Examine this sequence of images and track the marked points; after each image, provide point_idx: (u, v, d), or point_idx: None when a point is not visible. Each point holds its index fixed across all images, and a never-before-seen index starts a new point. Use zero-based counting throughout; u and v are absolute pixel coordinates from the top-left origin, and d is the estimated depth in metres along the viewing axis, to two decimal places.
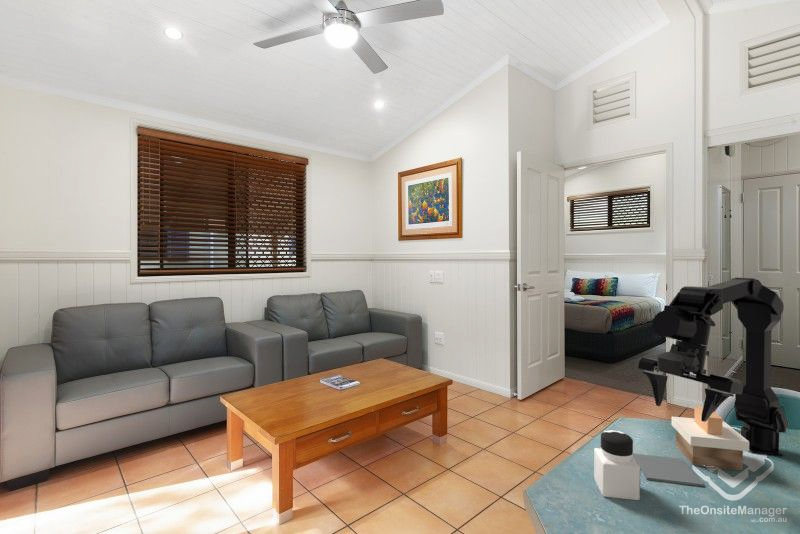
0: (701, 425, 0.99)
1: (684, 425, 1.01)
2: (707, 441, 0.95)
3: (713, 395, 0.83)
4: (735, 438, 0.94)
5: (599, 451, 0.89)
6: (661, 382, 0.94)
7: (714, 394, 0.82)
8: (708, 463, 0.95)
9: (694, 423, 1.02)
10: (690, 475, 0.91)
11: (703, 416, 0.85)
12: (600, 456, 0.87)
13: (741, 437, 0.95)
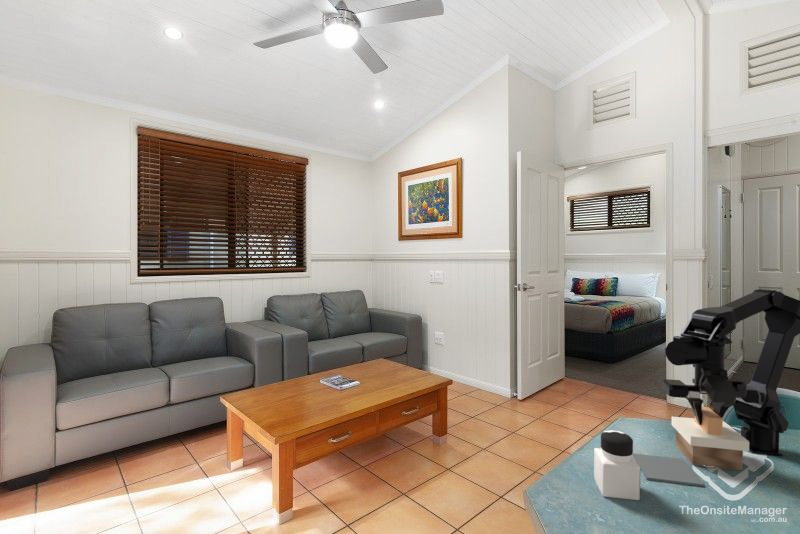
0: (701, 425, 0.99)
1: (684, 425, 1.01)
2: (707, 441, 0.95)
3: (730, 405, 0.96)
4: (735, 438, 0.94)
5: (599, 451, 0.89)
6: None
7: (732, 405, 0.96)
8: (708, 463, 0.95)
9: (694, 423, 1.02)
10: (690, 475, 0.91)
11: None
12: (600, 456, 0.87)
13: (741, 437, 0.95)
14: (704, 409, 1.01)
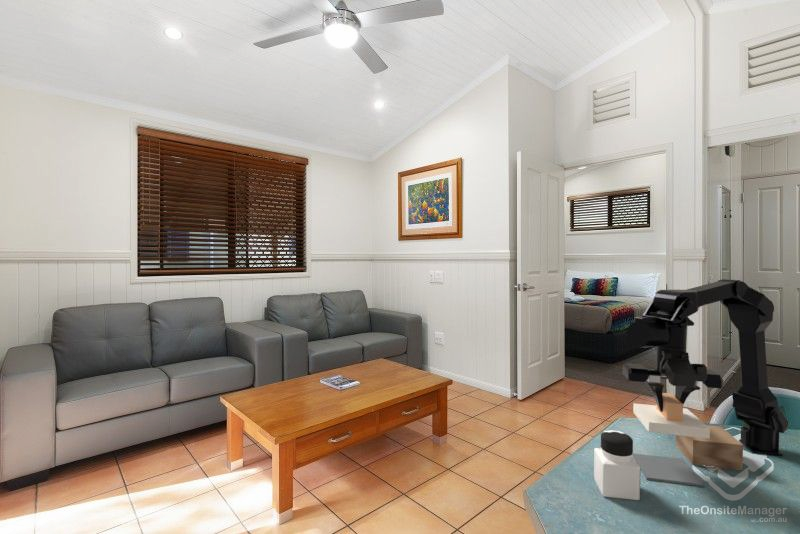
0: (662, 411, 0.94)
1: (644, 411, 0.96)
2: (666, 427, 0.89)
3: (691, 391, 0.91)
4: (696, 425, 0.89)
5: (599, 451, 0.89)
6: None
7: (693, 390, 0.90)
8: (708, 463, 0.95)
9: (655, 410, 0.97)
10: (690, 475, 0.91)
11: None
12: (600, 456, 0.87)
13: (702, 424, 0.89)
14: (666, 395, 0.96)
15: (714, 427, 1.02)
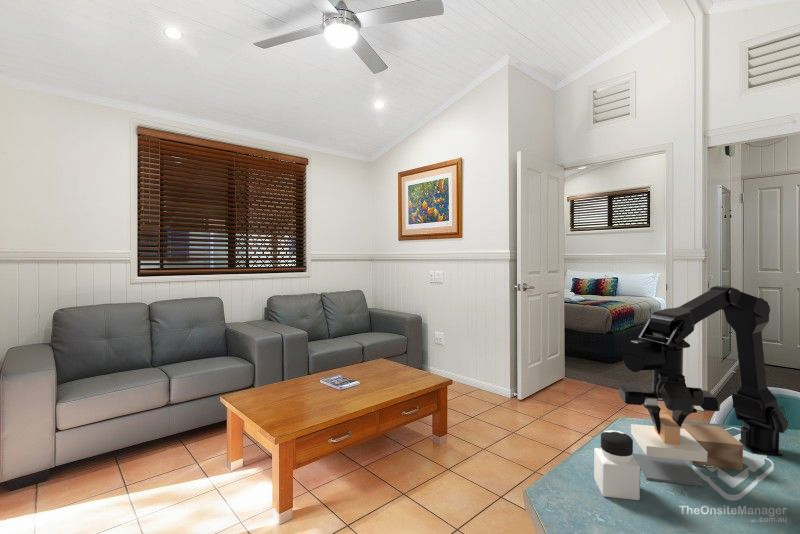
0: (659, 434, 0.94)
1: (642, 433, 0.96)
2: (663, 451, 0.89)
3: (688, 413, 0.91)
4: (693, 448, 0.88)
5: (599, 451, 0.89)
6: None
7: (690, 413, 0.90)
8: (708, 463, 0.95)
9: (653, 431, 0.97)
10: (690, 475, 0.91)
11: None
12: (600, 456, 0.87)
13: (699, 447, 0.89)
14: (663, 416, 0.96)
15: (714, 427, 1.02)
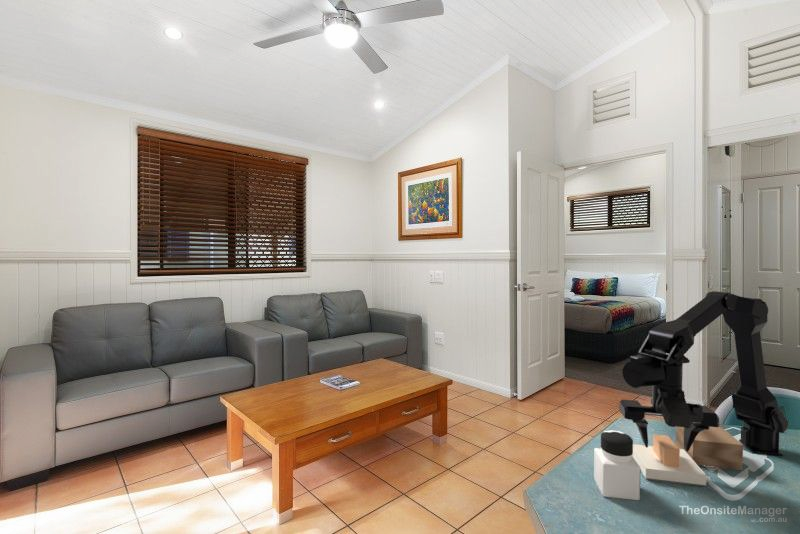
0: (659, 455, 0.94)
1: (641, 455, 0.96)
2: (663, 474, 0.89)
3: (700, 430, 0.90)
4: (692, 471, 0.89)
5: (599, 451, 0.89)
6: None
7: (702, 429, 0.90)
8: (708, 463, 0.95)
9: (652, 452, 0.97)
10: None
11: (688, 447, 0.92)
12: (600, 456, 0.87)
13: (699, 469, 0.89)
14: (662, 437, 0.96)
15: (714, 427, 1.02)
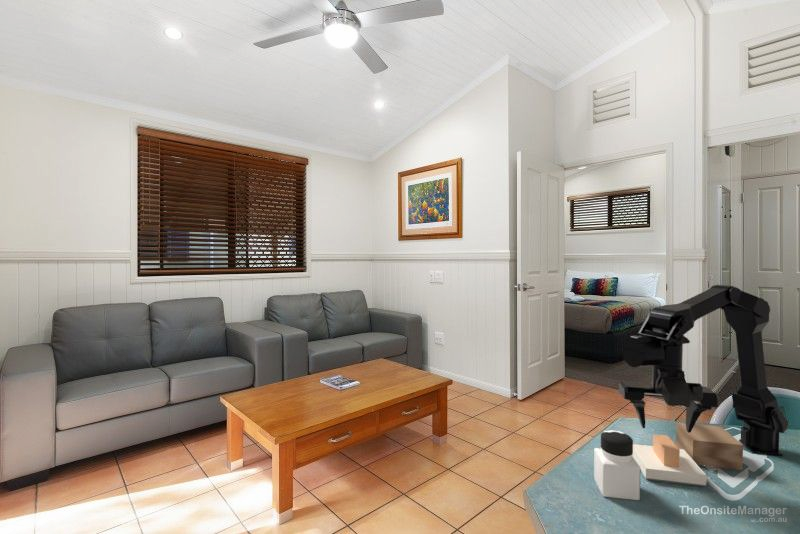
0: (659, 455, 0.94)
1: (641, 455, 0.96)
2: (663, 474, 0.89)
3: (703, 410, 0.90)
4: (692, 471, 0.89)
5: (599, 451, 0.89)
6: None
7: (705, 410, 0.89)
8: (708, 463, 0.95)
9: (652, 452, 0.97)
10: None
11: (690, 428, 0.92)
12: (600, 456, 0.87)
13: (699, 469, 0.89)
14: (662, 437, 0.96)
15: (714, 427, 1.02)
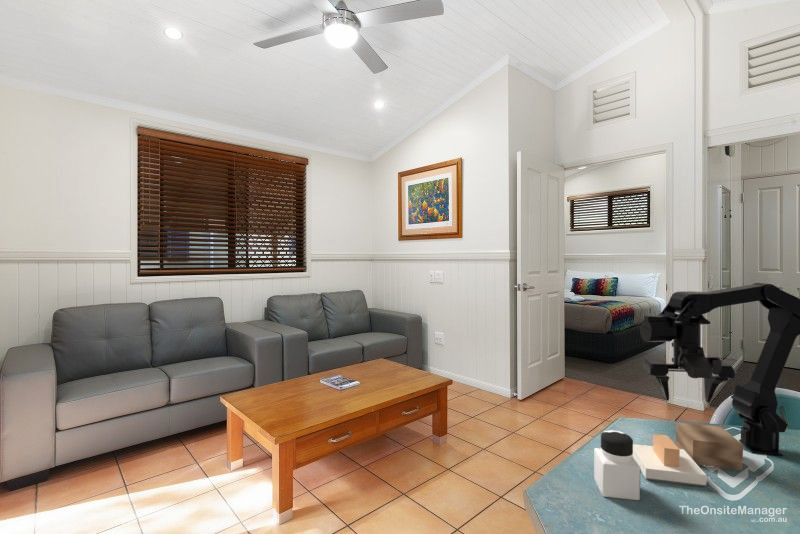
0: (659, 455, 0.94)
1: (641, 455, 0.96)
2: (663, 474, 0.89)
3: (720, 382, 1.01)
4: (692, 471, 0.89)
5: (599, 451, 0.89)
6: None
7: (722, 381, 1.00)
8: (708, 463, 0.95)
9: (652, 452, 0.97)
10: None
11: (709, 398, 1.03)
12: (600, 456, 0.87)
13: (699, 469, 0.89)
14: (662, 437, 0.96)
15: (714, 427, 1.02)
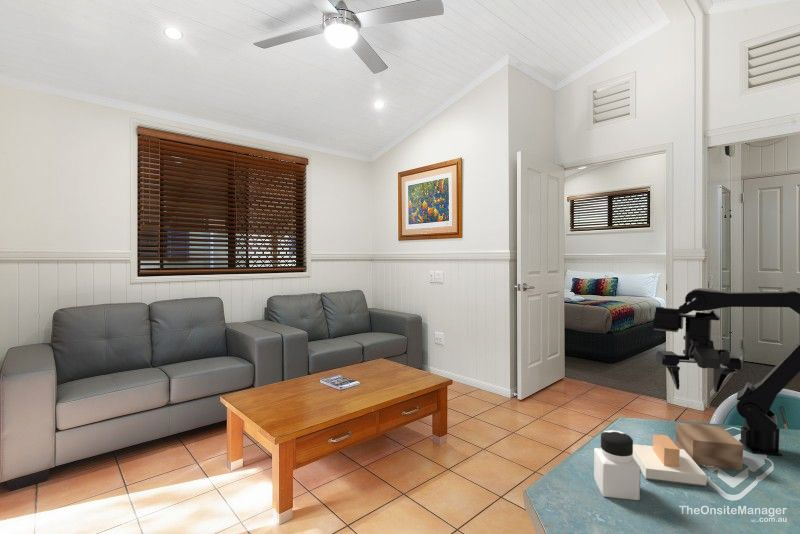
0: (659, 455, 0.94)
1: (641, 455, 0.96)
2: (663, 474, 0.89)
3: (728, 373, 1.08)
4: (692, 471, 0.89)
5: (599, 451, 0.89)
6: None
7: (730, 372, 1.08)
8: (708, 463, 0.95)
9: (652, 452, 0.97)
10: None
11: (717, 388, 1.10)
12: (600, 456, 0.87)
13: (699, 469, 0.89)
14: (662, 437, 0.96)
15: (714, 427, 1.02)
